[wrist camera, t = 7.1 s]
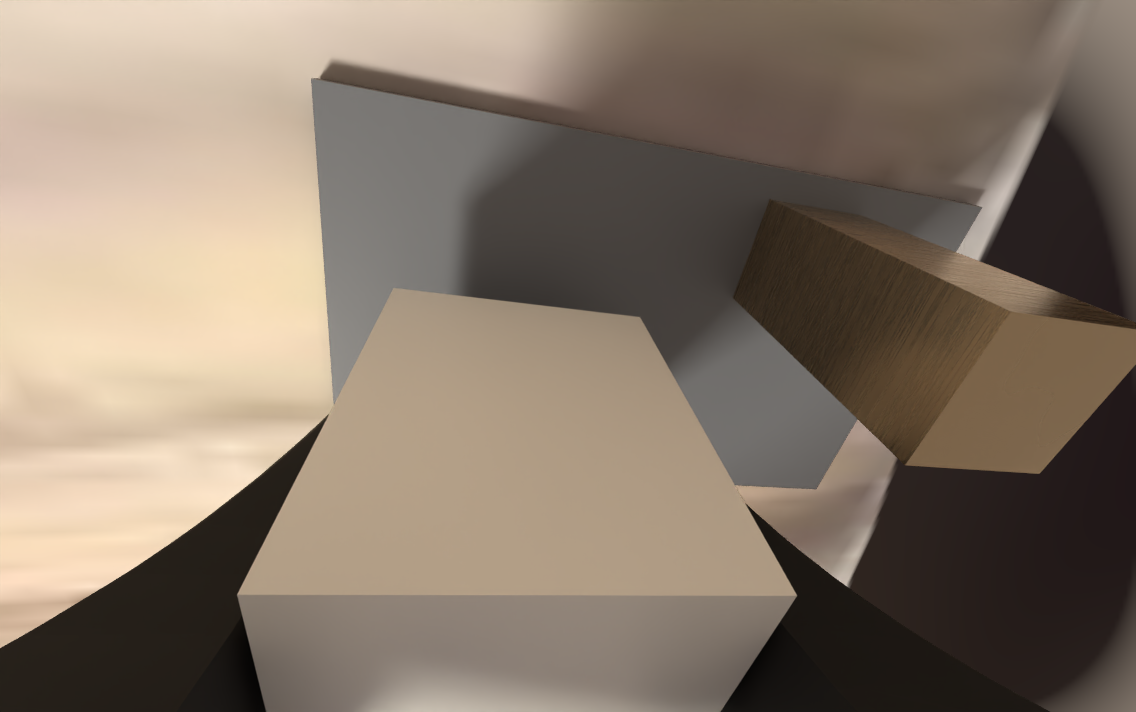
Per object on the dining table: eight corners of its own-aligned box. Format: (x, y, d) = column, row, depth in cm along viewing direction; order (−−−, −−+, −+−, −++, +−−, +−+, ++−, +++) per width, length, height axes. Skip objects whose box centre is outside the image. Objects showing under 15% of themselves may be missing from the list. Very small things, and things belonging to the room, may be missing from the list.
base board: (809, 480, 17) (816, 489, 17) (341, 456, 14) (338, 465, 14) (969, 203, 13) (981, 207, 12) (317, 78, 10) (310, 78, 9)
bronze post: (818, 309, 13) (1039, 473, 8) (732, 297, 13) (905, 465, 7) (862, 215, 12) (1163, 333, 7) (769, 199, 12) (1011, 311, 6)
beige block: (592, 487, 13) (660, 802, 7) (392, 478, 12) (296, 834, 6) (640, 317, 11) (796, 596, 5) (393, 287, 10) (237, 594, 4)
